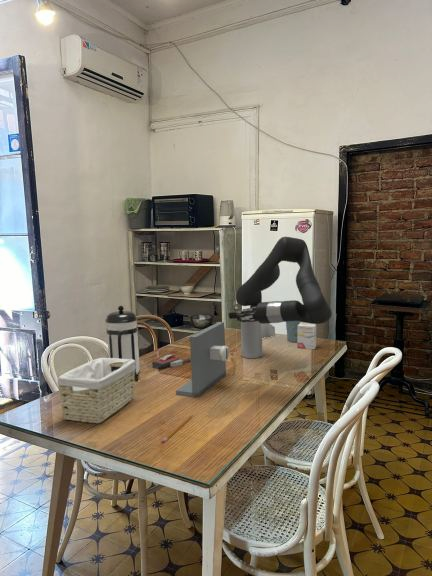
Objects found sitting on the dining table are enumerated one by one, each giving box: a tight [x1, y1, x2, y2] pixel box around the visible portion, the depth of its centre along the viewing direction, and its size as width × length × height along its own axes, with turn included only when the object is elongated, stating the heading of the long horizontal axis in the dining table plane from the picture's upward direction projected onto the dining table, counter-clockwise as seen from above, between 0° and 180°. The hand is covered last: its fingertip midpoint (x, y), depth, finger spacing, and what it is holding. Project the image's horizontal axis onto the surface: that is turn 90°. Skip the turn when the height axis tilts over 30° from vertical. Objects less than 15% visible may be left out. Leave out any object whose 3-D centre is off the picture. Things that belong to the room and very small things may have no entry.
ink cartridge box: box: [296, 322, 317, 350], centre depth 211 cm, size 9×5×15 cm, turn 65°
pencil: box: [161, 415, 193, 444], centre depth 128 cm, size 1×1×19 cm
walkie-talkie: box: [151, 353, 191, 370], centre depth 193 cm, size 9×4×20 cm
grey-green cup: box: [285, 321, 300, 344], centre depth 226 cm, size 10×10×12 cm
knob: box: [220, 345, 230, 362], centre depth 161 cm, size 6×6×6 cm
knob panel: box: [175, 321, 227, 398], centre depth 163 cm, size 13×26×22 cm, turn 157°
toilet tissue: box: [261, 323, 276, 339], centre depth 238 cm, size 9×13×9 cm
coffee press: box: [104, 305, 141, 382], centre depth 174 cm, size 17×16×30 cm
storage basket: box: [57, 357, 136, 424], centre depth 144 cm, size 24×16×15 cm
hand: (229, 315), depth 157 cm, fingers closed
